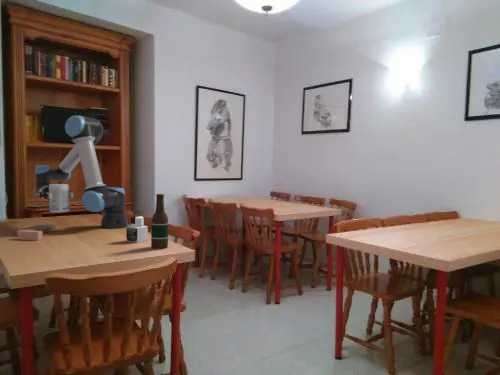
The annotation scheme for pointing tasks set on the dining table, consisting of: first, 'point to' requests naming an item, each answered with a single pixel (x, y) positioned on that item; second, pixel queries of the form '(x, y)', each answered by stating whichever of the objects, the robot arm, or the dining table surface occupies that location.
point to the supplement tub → (59, 198)
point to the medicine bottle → (137, 230)
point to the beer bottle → (159, 225)
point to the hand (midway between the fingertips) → (62, 195)
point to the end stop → (29, 235)
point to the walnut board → (40, 228)
